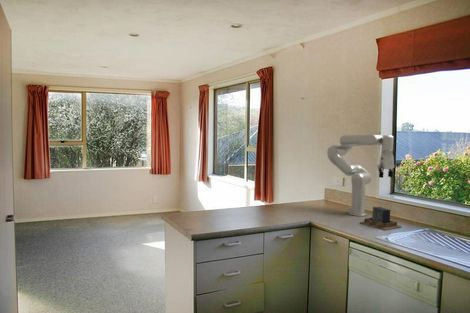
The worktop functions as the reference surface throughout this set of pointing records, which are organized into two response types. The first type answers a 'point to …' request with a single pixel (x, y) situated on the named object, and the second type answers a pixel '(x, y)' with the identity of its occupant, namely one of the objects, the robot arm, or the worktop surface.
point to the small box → (381, 215)
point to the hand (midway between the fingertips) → (385, 177)
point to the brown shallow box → (380, 224)
